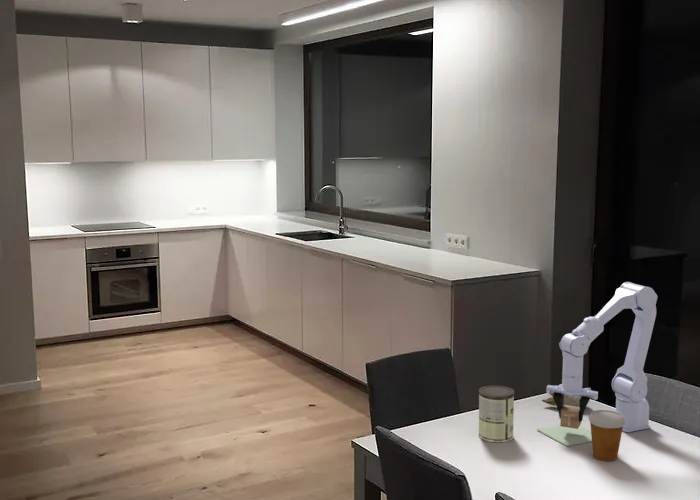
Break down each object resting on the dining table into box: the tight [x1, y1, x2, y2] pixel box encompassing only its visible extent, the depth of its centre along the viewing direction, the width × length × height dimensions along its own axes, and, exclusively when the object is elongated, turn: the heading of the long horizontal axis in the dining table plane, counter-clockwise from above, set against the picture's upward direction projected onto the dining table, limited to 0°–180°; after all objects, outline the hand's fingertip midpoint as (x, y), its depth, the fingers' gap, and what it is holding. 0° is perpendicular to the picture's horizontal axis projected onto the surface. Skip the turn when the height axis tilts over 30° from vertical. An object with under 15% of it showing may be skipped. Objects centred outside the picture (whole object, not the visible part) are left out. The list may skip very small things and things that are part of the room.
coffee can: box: [478, 384, 515, 444], centre depth 225 cm, size 10×10×14 cm
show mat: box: [536, 424, 592, 447], centre depth 227 cm, size 14×14×1 cm
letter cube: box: [559, 405, 582, 429], centre depth 226 cm, size 5×5×5 cm
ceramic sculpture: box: [541, 383, 592, 407], centre depth 251 cm, size 11×9×15 cm
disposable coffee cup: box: [588, 409, 625, 462], centre depth 210 cm, size 10×10×12 cm
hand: (570, 419), depth 226 cm, fingers closed on letter cube, 5 cm apart
